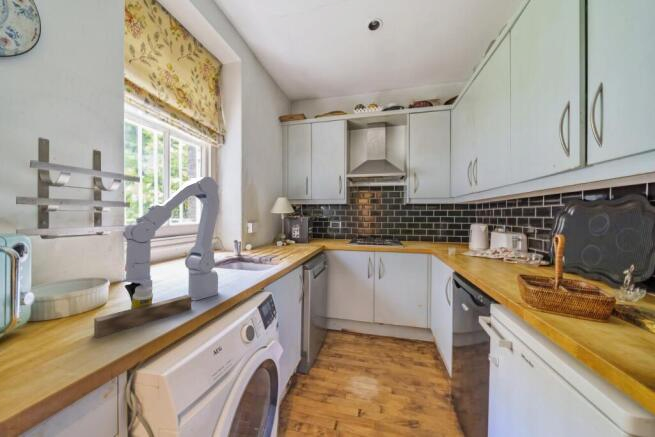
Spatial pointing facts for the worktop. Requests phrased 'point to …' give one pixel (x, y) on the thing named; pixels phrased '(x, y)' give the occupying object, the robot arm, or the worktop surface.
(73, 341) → the worktop surface
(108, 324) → the walnut board
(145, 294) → the supplement bottle
